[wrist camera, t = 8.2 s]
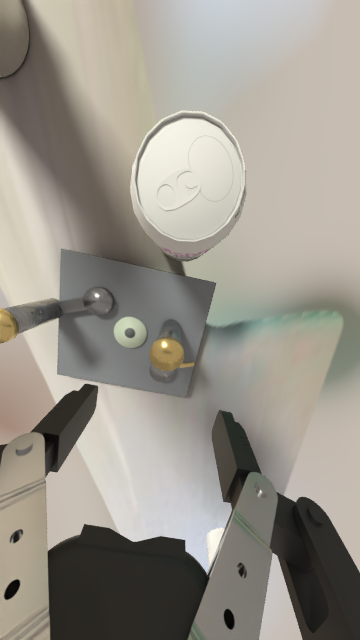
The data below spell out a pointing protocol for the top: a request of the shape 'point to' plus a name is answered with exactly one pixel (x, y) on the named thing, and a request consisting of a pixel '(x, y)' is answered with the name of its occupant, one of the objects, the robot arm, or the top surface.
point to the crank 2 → (166, 352)
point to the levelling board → (128, 322)
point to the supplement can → (188, 184)
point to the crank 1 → (51, 311)
